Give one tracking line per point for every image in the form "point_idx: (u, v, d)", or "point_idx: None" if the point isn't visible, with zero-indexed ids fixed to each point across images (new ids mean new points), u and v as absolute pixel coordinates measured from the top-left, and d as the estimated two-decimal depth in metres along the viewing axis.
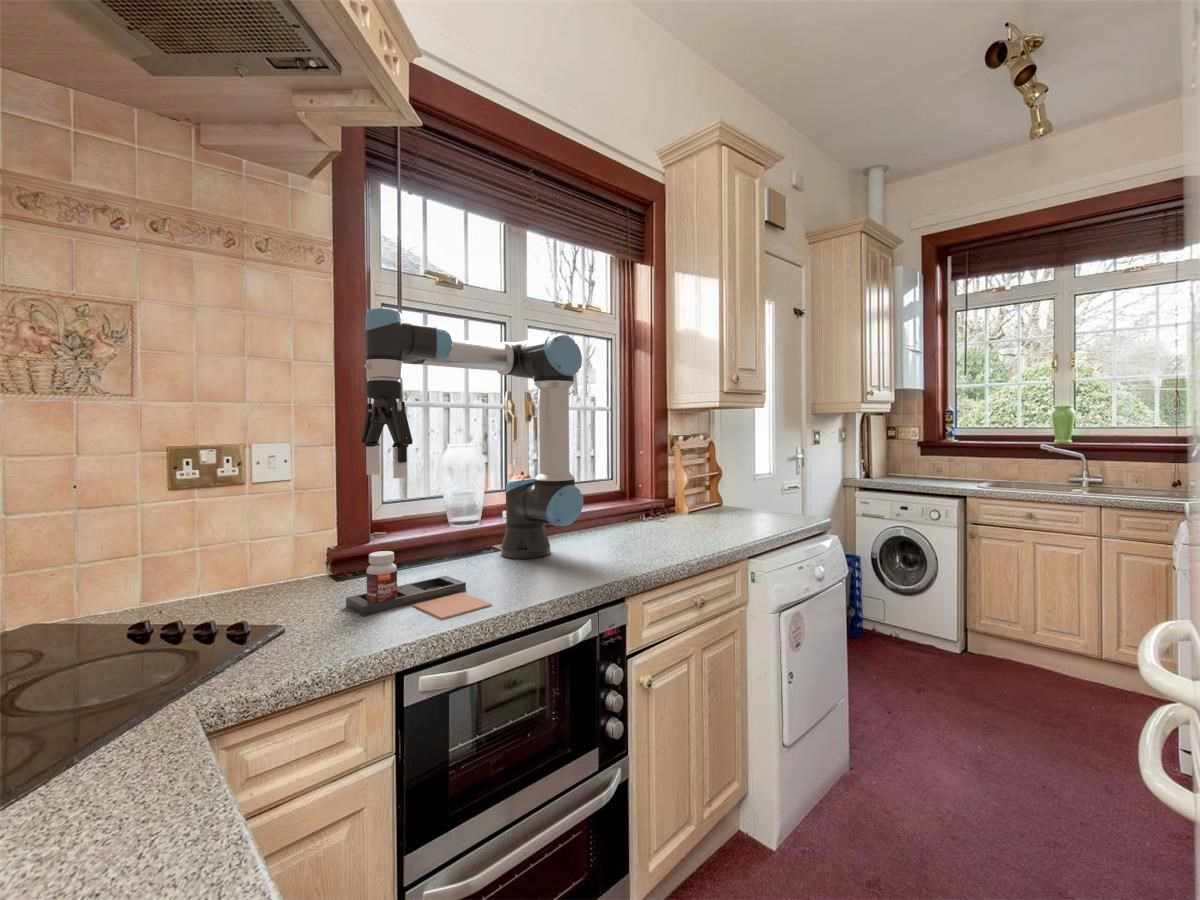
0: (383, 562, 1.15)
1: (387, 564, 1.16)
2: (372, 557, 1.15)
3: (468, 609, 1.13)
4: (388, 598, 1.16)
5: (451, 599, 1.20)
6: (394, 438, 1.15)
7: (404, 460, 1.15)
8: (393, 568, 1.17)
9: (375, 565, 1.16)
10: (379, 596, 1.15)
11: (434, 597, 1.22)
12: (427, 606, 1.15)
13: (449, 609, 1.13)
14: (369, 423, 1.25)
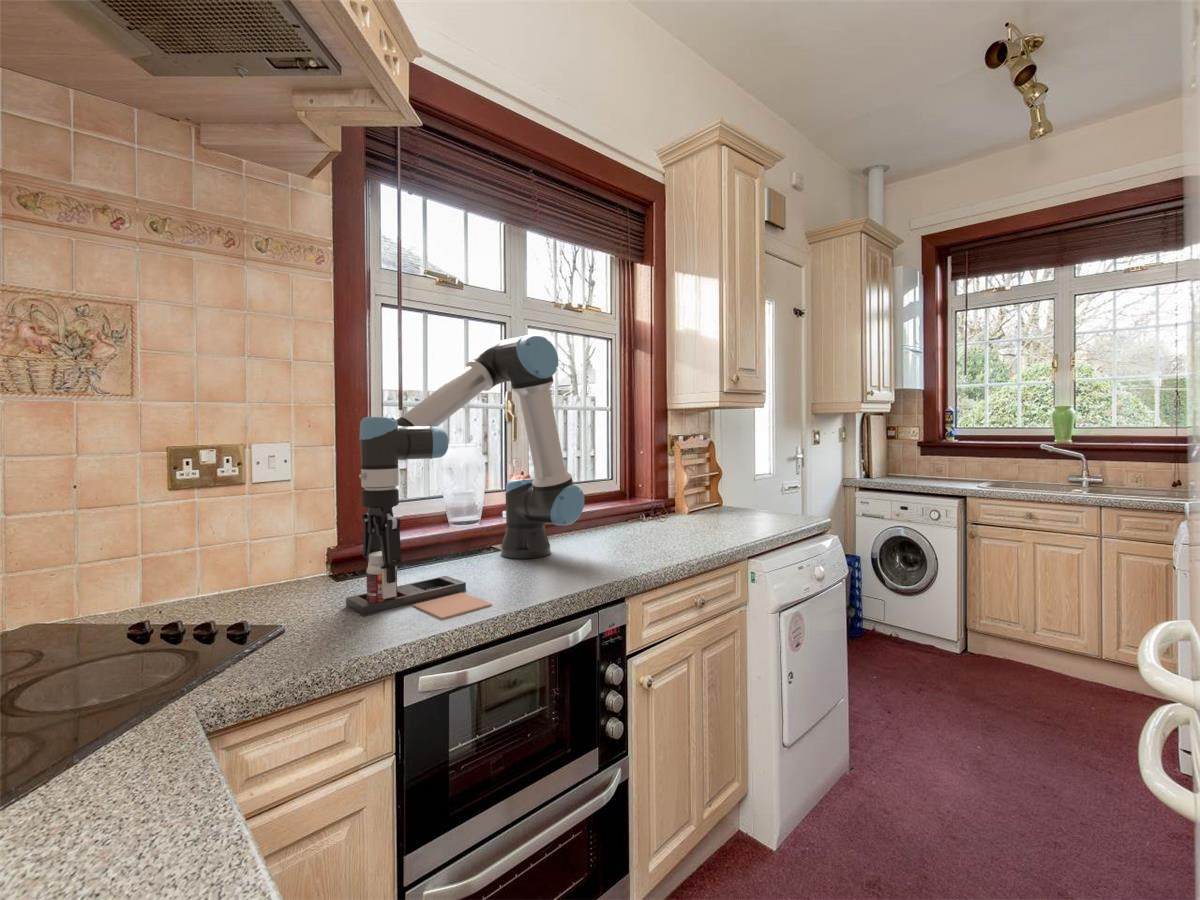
0: None
1: None
2: (372, 557, 1.15)
3: (468, 609, 1.13)
4: (388, 598, 1.16)
5: (451, 599, 1.20)
6: (384, 557, 1.14)
7: (393, 580, 1.15)
8: None
9: (375, 565, 1.16)
10: (379, 596, 1.15)
11: (434, 597, 1.22)
12: (427, 606, 1.15)
13: (449, 609, 1.13)
14: (368, 534, 1.21)
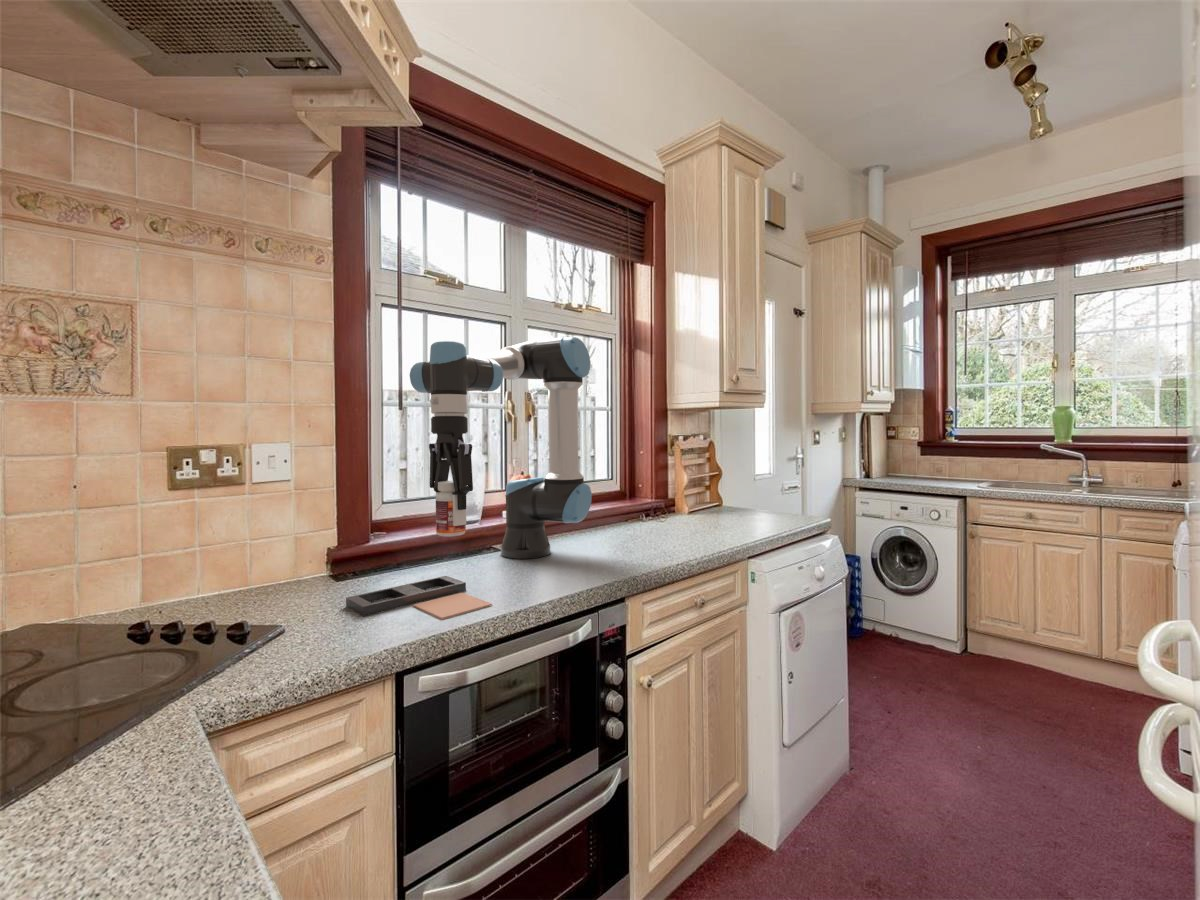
0: (453, 489, 1.14)
1: None
2: (442, 484, 1.14)
3: (468, 609, 1.13)
4: (458, 526, 1.14)
5: (451, 599, 1.20)
6: (455, 484, 1.12)
7: (464, 507, 1.13)
8: None
9: (445, 492, 1.14)
10: (450, 523, 1.13)
11: (434, 597, 1.22)
12: (427, 606, 1.15)
13: (449, 609, 1.13)
14: (435, 464, 1.19)
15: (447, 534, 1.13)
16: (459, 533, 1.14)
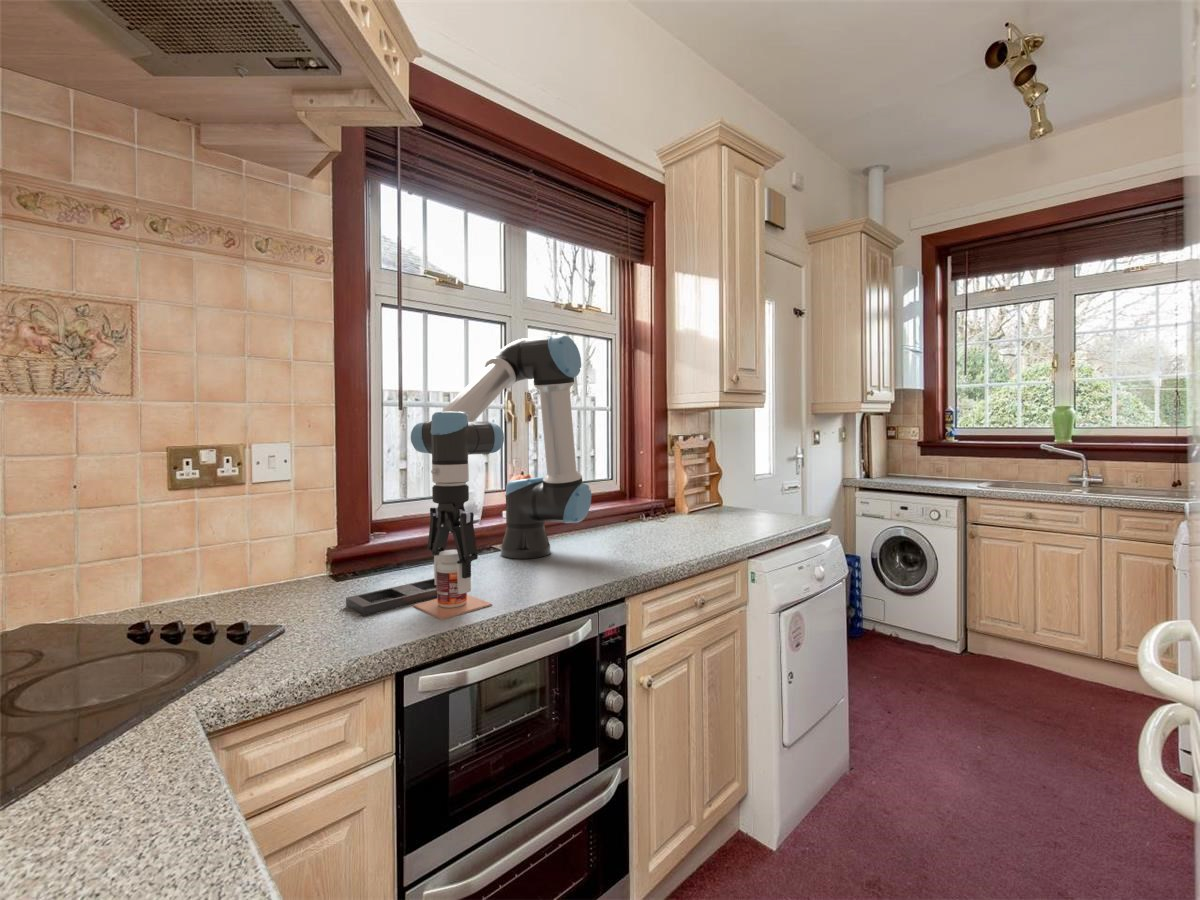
0: (454, 561, 1.14)
1: None
2: (443, 556, 1.14)
3: (468, 609, 1.13)
4: (459, 597, 1.15)
5: None
6: (459, 552, 1.12)
7: (469, 575, 1.12)
8: None
9: (446, 564, 1.15)
10: (451, 595, 1.14)
11: (434, 597, 1.22)
12: (427, 606, 1.15)
13: (449, 609, 1.13)
14: (434, 528, 1.20)
15: (448, 605, 1.14)
16: (460, 604, 1.15)
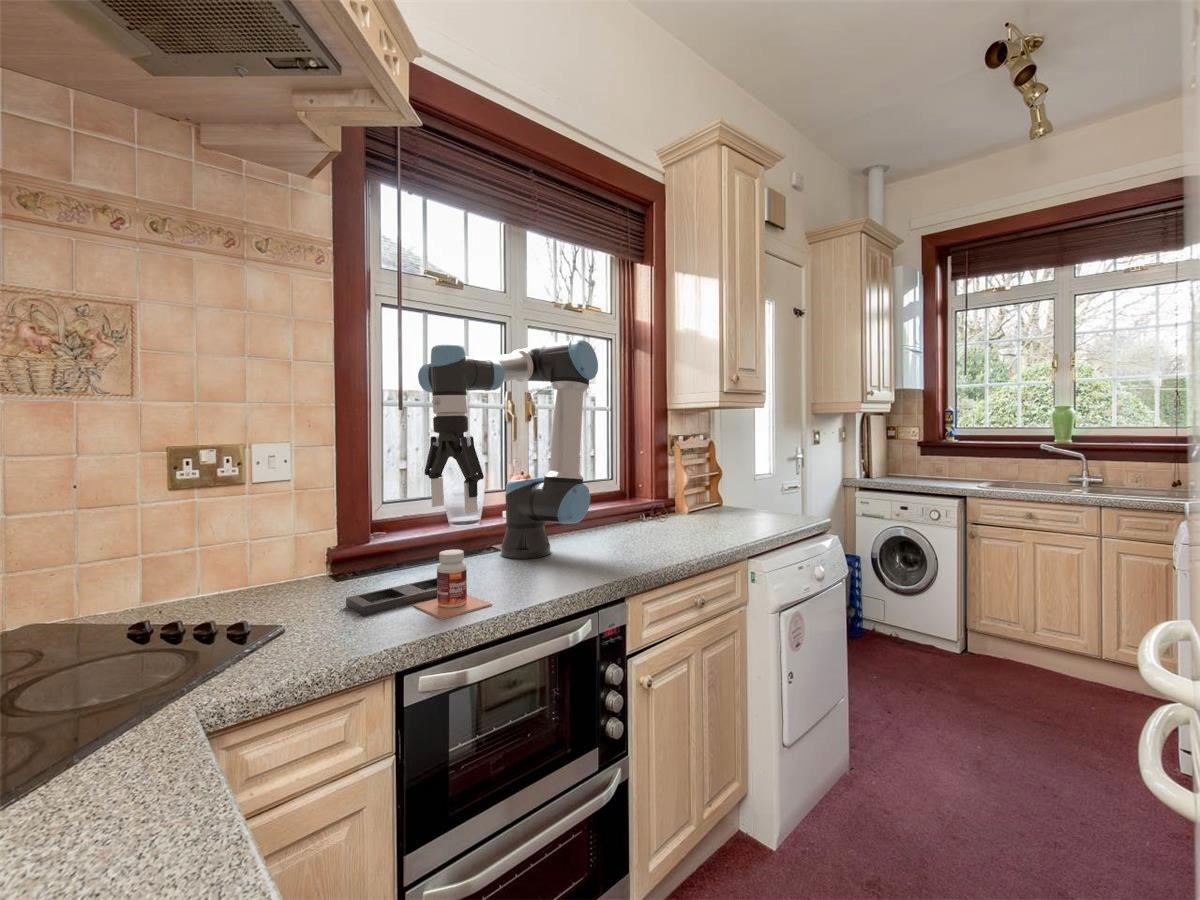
0: (454, 561, 1.14)
1: (458, 563, 1.15)
2: (443, 556, 1.14)
3: (468, 609, 1.13)
4: (459, 597, 1.15)
5: None
6: (465, 473, 1.17)
7: (475, 495, 1.17)
8: (464, 566, 1.16)
9: (446, 564, 1.15)
10: (451, 595, 1.14)
11: (434, 597, 1.22)
12: (427, 606, 1.15)
13: (449, 609, 1.13)
14: (433, 456, 1.26)
15: (448, 605, 1.14)
16: (460, 604, 1.15)
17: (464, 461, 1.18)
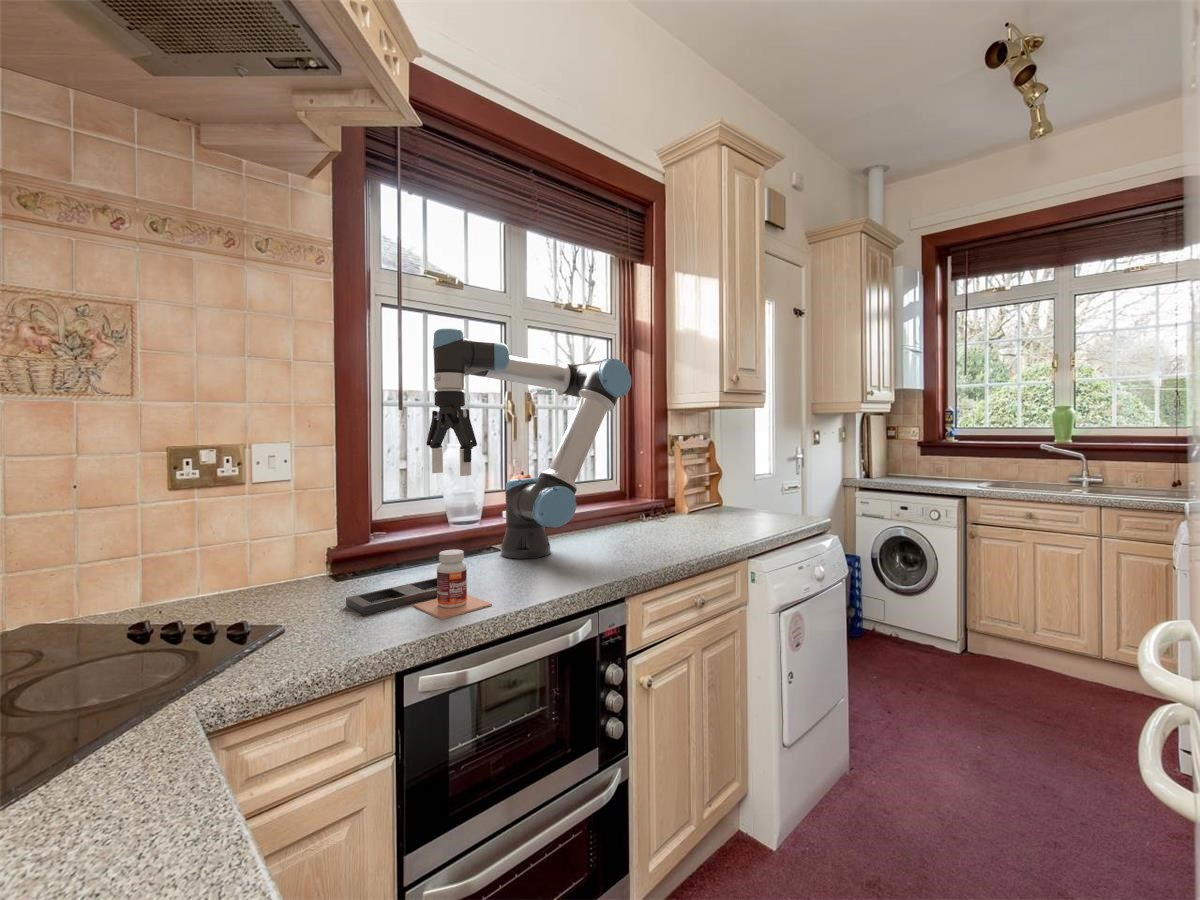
0: (454, 561, 1.14)
1: (458, 563, 1.15)
2: (443, 556, 1.14)
3: (468, 609, 1.13)
4: (459, 597, 1.15)
5: None
6: (460, 441, 1.32)
7: (469, 460, 1.33)
8: (464, 566, 1.16)
9: (446, 564, 1.15)
10: (451, 595, 1.14)
11: (434, 597, 1.22)
12: (427, 606, 1.15)
13: (449, 609, 1.13)
14: (434, 428, 1.42)
15: (448, 605, 1.14)
16: (460, 604, 1.15)
17: (460, 431, 1.34)
